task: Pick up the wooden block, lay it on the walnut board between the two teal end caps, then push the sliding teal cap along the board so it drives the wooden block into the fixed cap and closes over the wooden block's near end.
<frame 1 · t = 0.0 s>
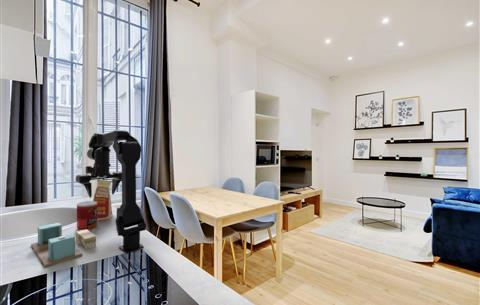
hand: (101, 195, 103), 15 cm above the worktop, fingers open, 9 cm apart
canned food: (87, 227, 104), on the worktop
board: (55, 250, 82), on the worktop
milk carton: (102, 217, 118), on the worktop
cap fixed: (49, 241, 87), resting on board
wooden block: (85, 244, 88), on the worktop
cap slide: (61, 246, 77), point 4 cm above the worktop, slide at 0.0 cm
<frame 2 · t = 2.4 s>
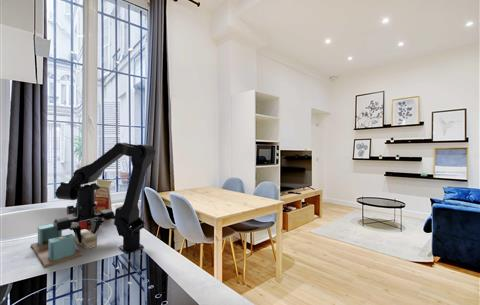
hand: (85, 240, 88), 1 cm above the worktop, fingers closed on wooden block, 4 cm apart
wooden block: (85, 243, 88), on the worktop, touching gripper
everything else where it was.
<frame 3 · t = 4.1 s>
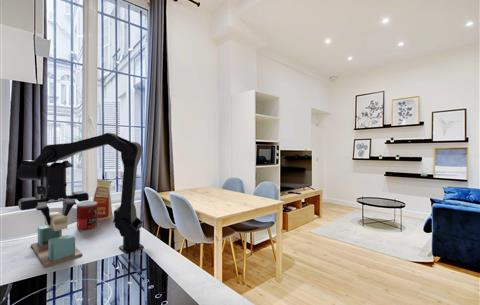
hand: (56, 223, 81), 10 cm above the worktop, fingers closed on wooden block, 4 cm apart
wooden block: (56, 226, 81), point 9 cm above the worktop, touching gripper
everything else where it was.
when the fingers open (3 cm above the worktop, at t = 5.6 s): wooden block stays where it is, resting on board.
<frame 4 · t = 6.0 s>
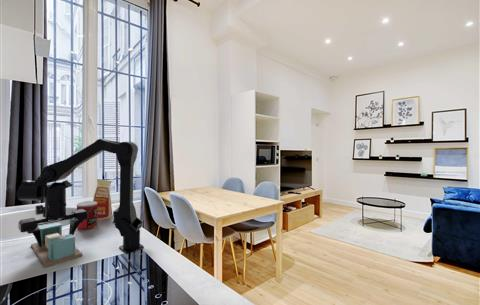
hand: (55, 243, 82), 3 cm above the worktop, fingers open, 8 cm apart
wooden block: (55, 248, 82), point 1 cm above the worktop, touching board
everything else where it was.
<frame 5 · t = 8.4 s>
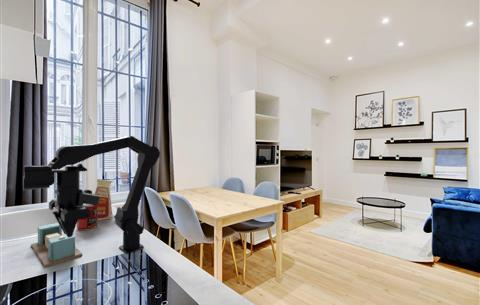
hand: (68, 235, 72), 10 cm above the worktop, fingers open, 3 cm apart
nothing on the worktop moved.
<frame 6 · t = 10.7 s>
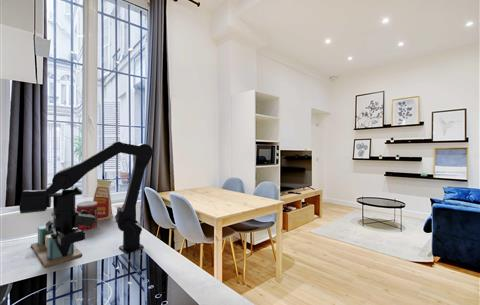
hand: (64, 256, 75), 2 cm above the worktop, fingers closed
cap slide: (60, 245, 77), point 4 cm above the worktop, slide at 1.5 cm, touching gripper
everything else where it was.
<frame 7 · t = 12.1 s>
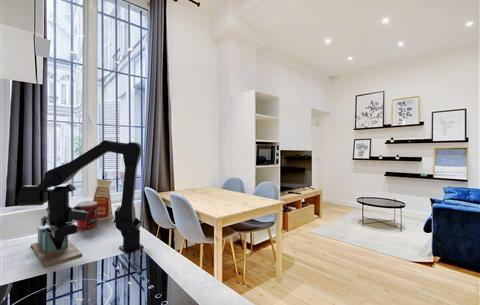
hand: (58, 249, 79), 2 cm above the worktop, fingers closed
wooden block: (53, 244, 85), point 1 cm above the worktop, touching board, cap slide
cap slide: (55, 239, 82), point 4 cm above the worktop, slide at 8.3 cm, touching gripper, wooden block
everything else where it was.
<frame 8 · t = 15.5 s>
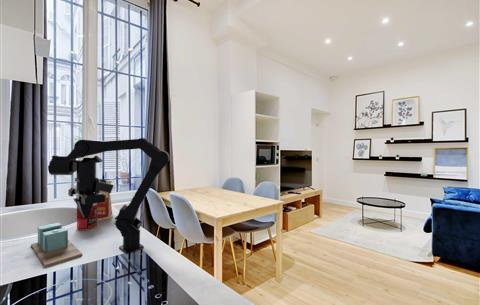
hand: (86, 218, 81), 12 cm above the worktop, fingers closed
wooden block: (53, 244, 85), point 1 cm above the worktop, touching board
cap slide: (55, 239, 82), point 4 cm above the worktop, slide at 8.2 cm
everything else where it was.
at the end: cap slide slide at 8.2 cm; wooden block 0.3 cm from the target spot, point 0.8 cm above the worktop; wooden block tilted 0° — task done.
